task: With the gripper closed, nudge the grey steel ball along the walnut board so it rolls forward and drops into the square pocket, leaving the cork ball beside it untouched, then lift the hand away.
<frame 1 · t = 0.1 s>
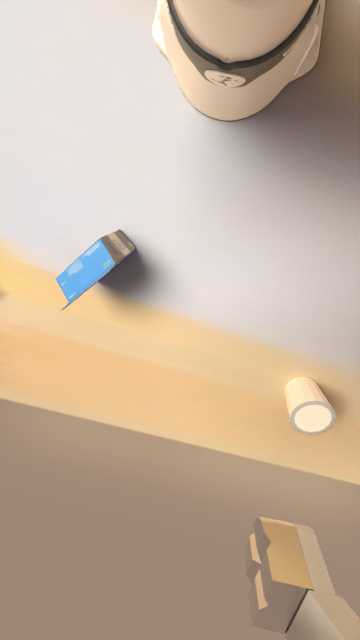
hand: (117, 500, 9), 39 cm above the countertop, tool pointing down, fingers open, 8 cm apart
label tape cartridge: (108, 255, 46), on the countertop
white cup: (300, 389, 52), on the countertop
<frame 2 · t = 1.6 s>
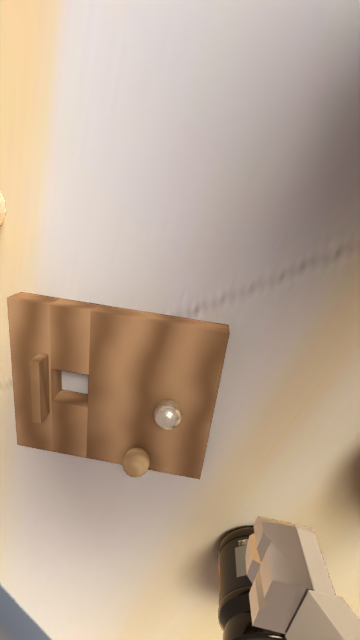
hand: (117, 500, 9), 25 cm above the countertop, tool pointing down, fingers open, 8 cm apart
cork ball: (136, 462, 35), point 4 cm above the countertop, touching board
supplement container: (252, 547, 44), on the countertop
board: (117, 384, 37), on the countertop
steel ball: (168, 414, 33), point 4 cm above the countertop, touching board
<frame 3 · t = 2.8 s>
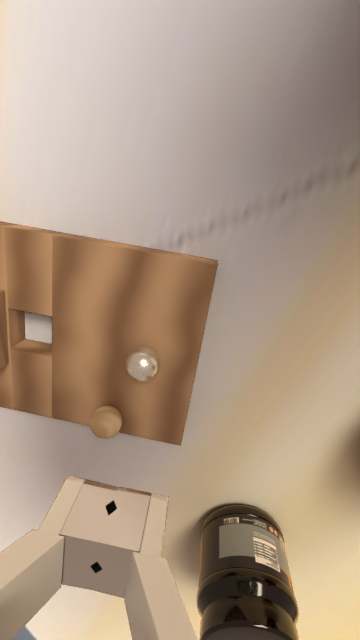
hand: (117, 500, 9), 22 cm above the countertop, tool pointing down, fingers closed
cork ball: (106, 421, 31), point 4 cm above the countertop, touching board
supplement container: (240, 527, 39), on the countertop
board: (88, 333, 32), on the countertop
steel ball: (143, 364, 28), point 4 cm above the countertop, touching board
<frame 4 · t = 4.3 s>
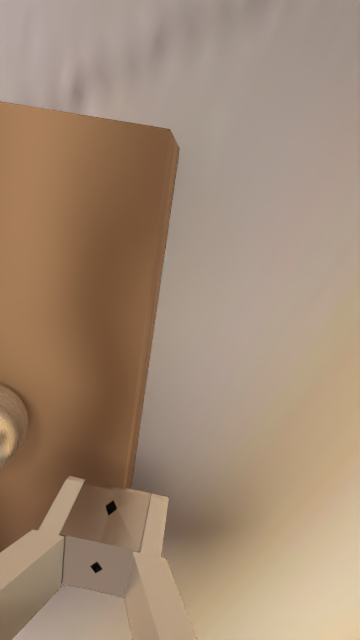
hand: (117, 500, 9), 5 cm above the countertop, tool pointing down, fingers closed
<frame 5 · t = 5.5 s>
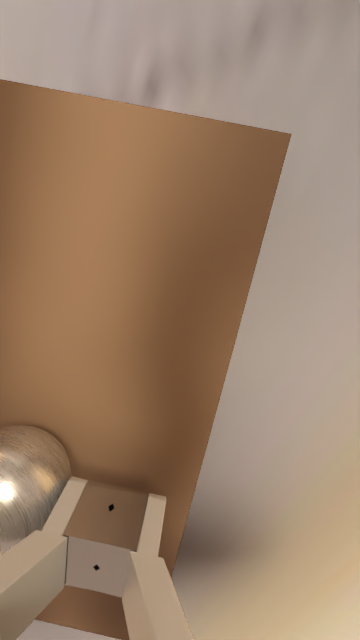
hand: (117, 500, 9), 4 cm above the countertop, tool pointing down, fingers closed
steel ball: (11, 485, 8), point 4 cm above the countertop, tilted 12°, touching board, gripper
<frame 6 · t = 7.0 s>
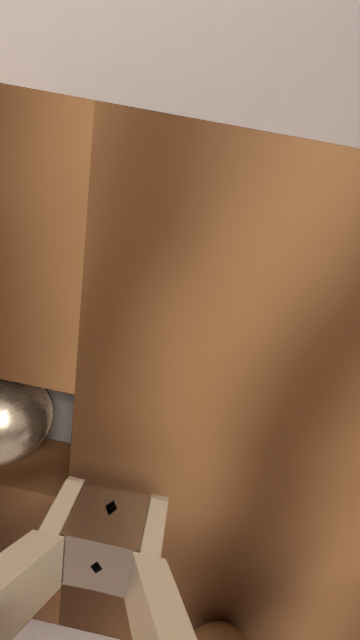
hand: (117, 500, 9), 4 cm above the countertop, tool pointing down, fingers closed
board: (162, 420, 12), on the countertop
steel ball: (5, 417, 11), point 2 cm above the countertop, tilted 122°
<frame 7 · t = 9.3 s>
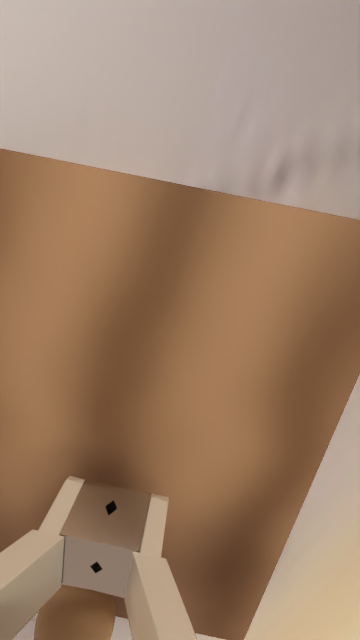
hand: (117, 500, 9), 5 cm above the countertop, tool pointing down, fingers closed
cork ball: (76, 620, 13), point 4 cm above the countertop, touching board
board: (40, 396, 14), on the countertop
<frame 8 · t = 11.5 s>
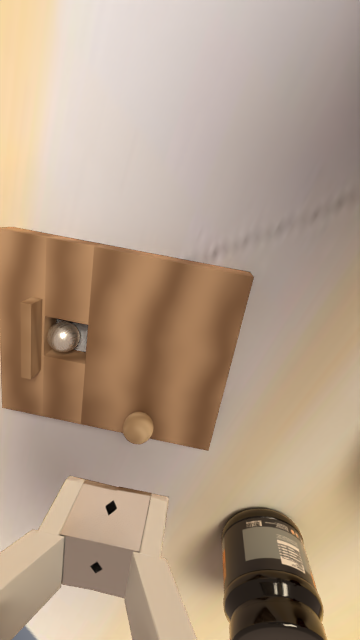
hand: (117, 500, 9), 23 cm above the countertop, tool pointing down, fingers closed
cork ball: (138, 427, 31), point 4 cm above the countertop, touching board
supplement container: (259, 531, 40), on the countertop
board: (119, 340, 33), on the countertop
steel ball: (63, 336, 31), point 2 cm above the countertop, tilted 121°
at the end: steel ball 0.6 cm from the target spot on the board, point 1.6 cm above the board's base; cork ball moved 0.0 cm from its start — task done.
